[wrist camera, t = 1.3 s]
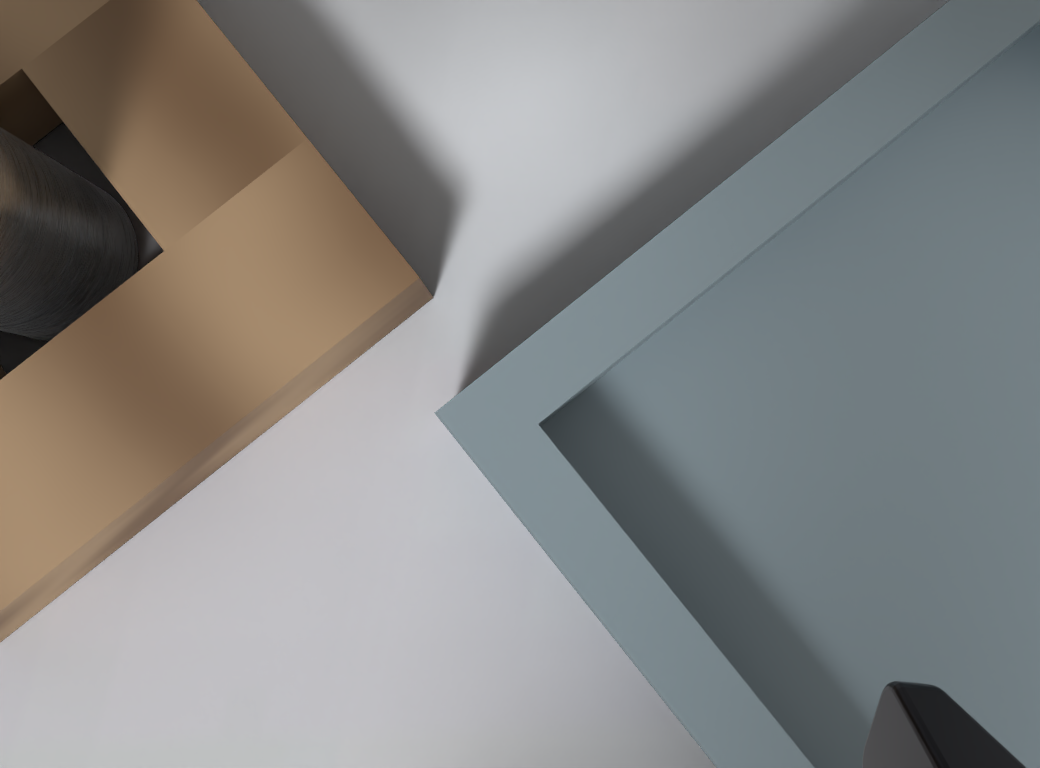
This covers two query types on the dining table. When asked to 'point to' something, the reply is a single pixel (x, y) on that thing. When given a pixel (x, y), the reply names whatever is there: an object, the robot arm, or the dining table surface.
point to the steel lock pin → (56, 242)
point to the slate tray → (812, 416)
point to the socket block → (172, 282)
